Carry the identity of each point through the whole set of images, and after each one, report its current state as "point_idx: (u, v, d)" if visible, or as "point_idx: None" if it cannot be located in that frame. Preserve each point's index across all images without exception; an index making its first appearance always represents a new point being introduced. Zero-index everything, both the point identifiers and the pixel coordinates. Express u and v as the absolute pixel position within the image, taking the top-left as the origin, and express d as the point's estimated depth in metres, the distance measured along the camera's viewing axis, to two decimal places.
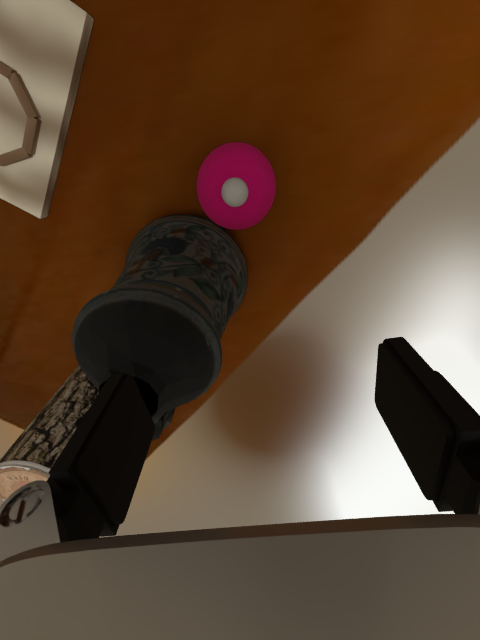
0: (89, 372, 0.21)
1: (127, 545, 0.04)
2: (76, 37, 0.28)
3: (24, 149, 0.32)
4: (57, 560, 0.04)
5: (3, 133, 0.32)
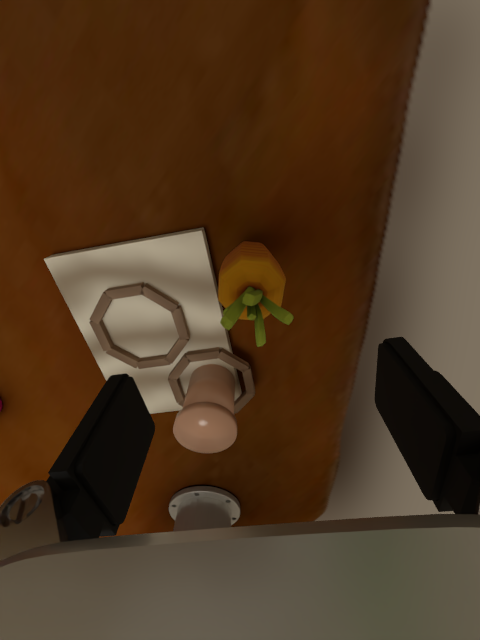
0: None
1: (128, 545, 0.04)
2: None
3: (95, 322, 0.30)
4: (57, 560, 0.04)
5: (124, 317, 0.31)
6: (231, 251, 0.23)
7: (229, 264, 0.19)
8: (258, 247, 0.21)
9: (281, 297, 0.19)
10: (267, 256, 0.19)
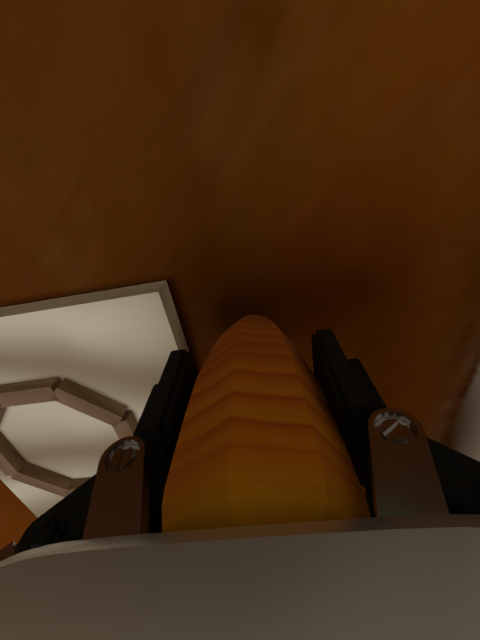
0: None
1: (128, 544, 0.04)
2: None
3: None
4: (57, 560, 0.04)
5: (35, 426, 0.18)
6: (213, 360, 0.10)
7: (193, 480, 0.06)
8: (279, 376, 0.08)
9: None
10: (316, 454, 0.06)
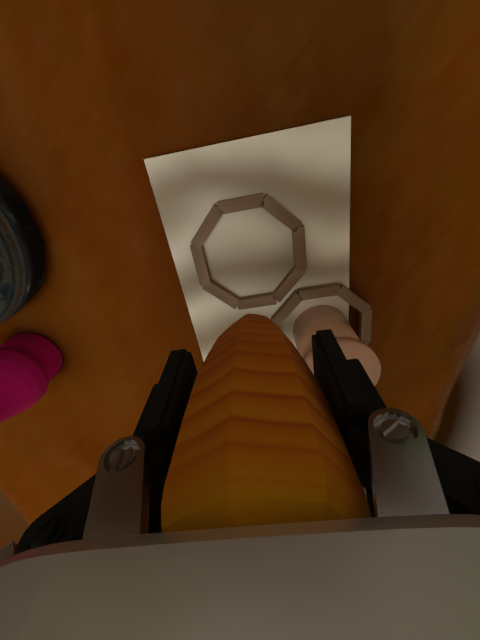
0: None
1: (127, 545, 0.04)
2: None
3: (197, 247, 0.25)
4: (57, 560, 0.04)
5: (230, 241, 0.25)
6: (212, 359, 0.10)
7: (193, 479, 0.06)
8: (279, 375, 0.08)
9: None
10: (316, 453, 0.06)
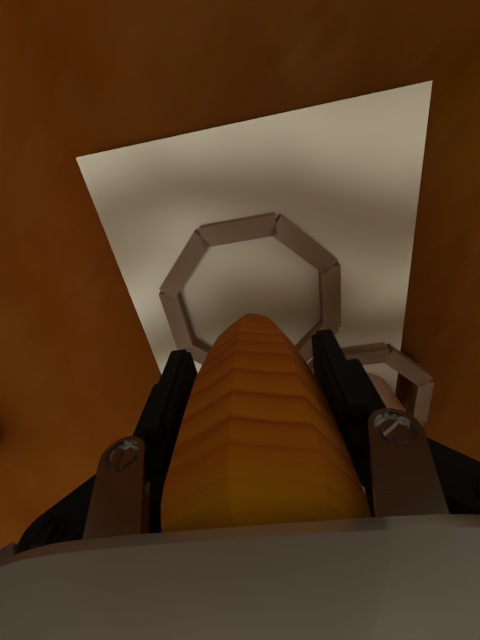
0: None
1: (128, 544, 0.04)
2: None
3: (170, 295, 0.16)
4: (57, 560, 0.04)
5: (222, 285, 0.16)
6: (212, 359, 0.10)
7: (192, 478, 0.06)
8: (279, 375, 0.08)
9: None
10: (316, 453, 0.06)
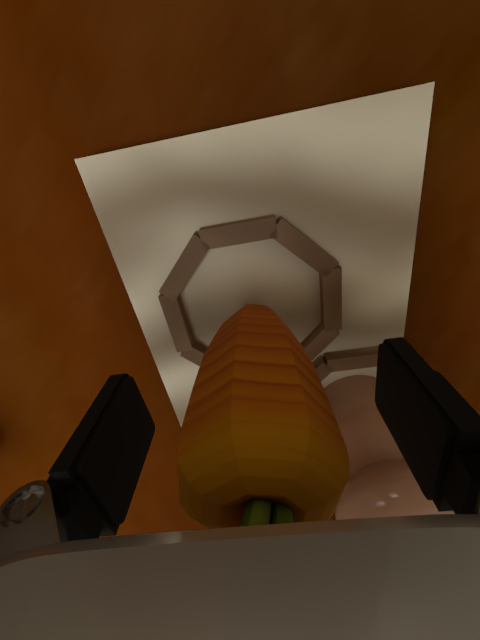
0: None
1: (127, 545, 0.04)
2: None
3: (170, 298, 0.16)
4: (56, 560, 0.04)
5: (222, 287, 0.16)
6: (217, 340, 0.11)
7: (203, 426, 0.07)
8: (274, 349, 0.09)
9: (337, 500, 0.08)
10: (302, 405, 0.07)
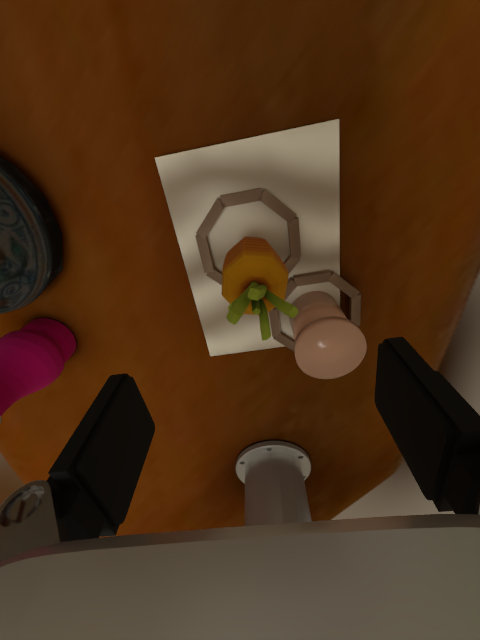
0: None
1: (127, 545, 0.04)
2: (209, 340, 0.34)
3: (202, 237, 0.28)
4: (57, 560, 0.04)
5: (232, 232, 0.28)
6: None
7: (232, 259, 0.19)
8: (260, 242, 0.21)
9: (284, 291, 0.20)
10: (270, 251, 0.19)
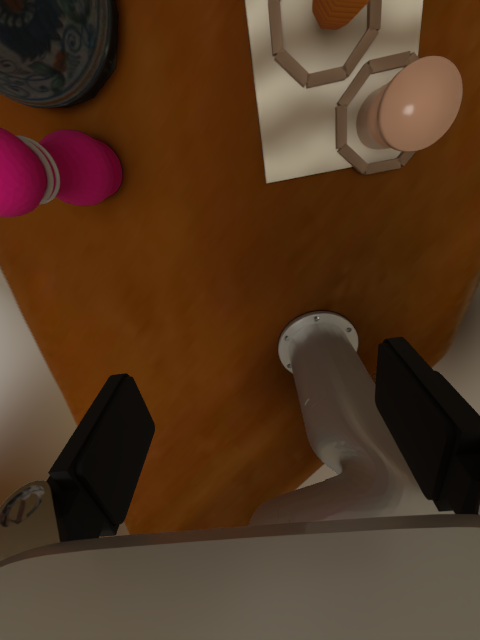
0: None
1: (127, 545, 0.04)
2: (267, 160, 0.32)
3: None
4: (57, 560, 0.04)
5: None
6: None
7: None
8: None
9: None
10: None
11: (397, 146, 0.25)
